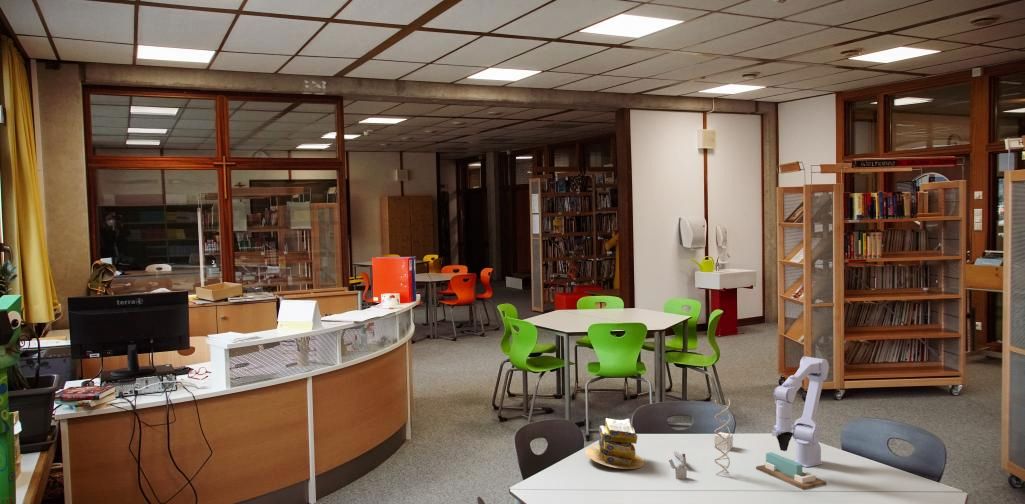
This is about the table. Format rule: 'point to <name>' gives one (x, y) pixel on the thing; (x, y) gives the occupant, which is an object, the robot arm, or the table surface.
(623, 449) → the stacked boxes on plate
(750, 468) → the table surface
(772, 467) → the end caps
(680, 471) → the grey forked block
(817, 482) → the walnut board
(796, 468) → the slat
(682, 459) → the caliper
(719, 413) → the dna model
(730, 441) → the beige cube
